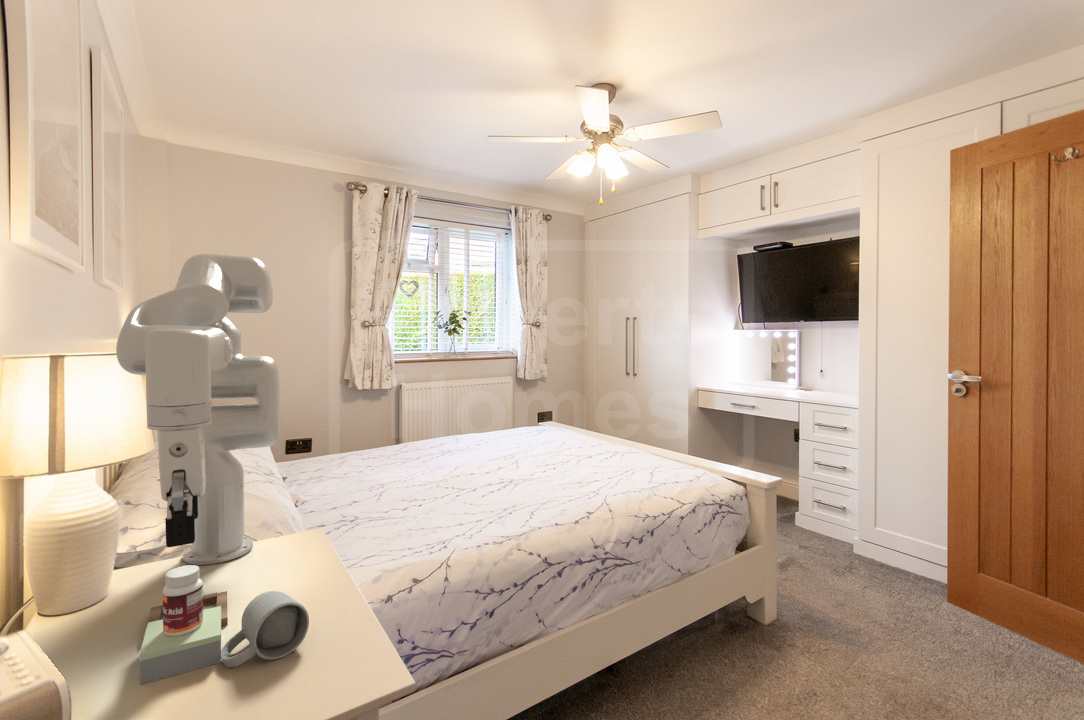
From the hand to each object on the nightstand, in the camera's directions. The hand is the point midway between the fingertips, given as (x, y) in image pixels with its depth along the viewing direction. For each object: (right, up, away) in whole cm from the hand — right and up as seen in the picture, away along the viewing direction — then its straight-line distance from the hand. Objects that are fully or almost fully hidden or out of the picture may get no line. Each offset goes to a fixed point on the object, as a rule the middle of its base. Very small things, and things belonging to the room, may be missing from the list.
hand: (183, 531), depth 73 cm
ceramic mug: (+11, -18, +1) cm, 21 cm away
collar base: (-6, -18, +9) cm, 21 cm away
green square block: (0, -18, 0) cm, 18 cm away
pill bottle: (0, -14, 0) cm, 14 cm away
